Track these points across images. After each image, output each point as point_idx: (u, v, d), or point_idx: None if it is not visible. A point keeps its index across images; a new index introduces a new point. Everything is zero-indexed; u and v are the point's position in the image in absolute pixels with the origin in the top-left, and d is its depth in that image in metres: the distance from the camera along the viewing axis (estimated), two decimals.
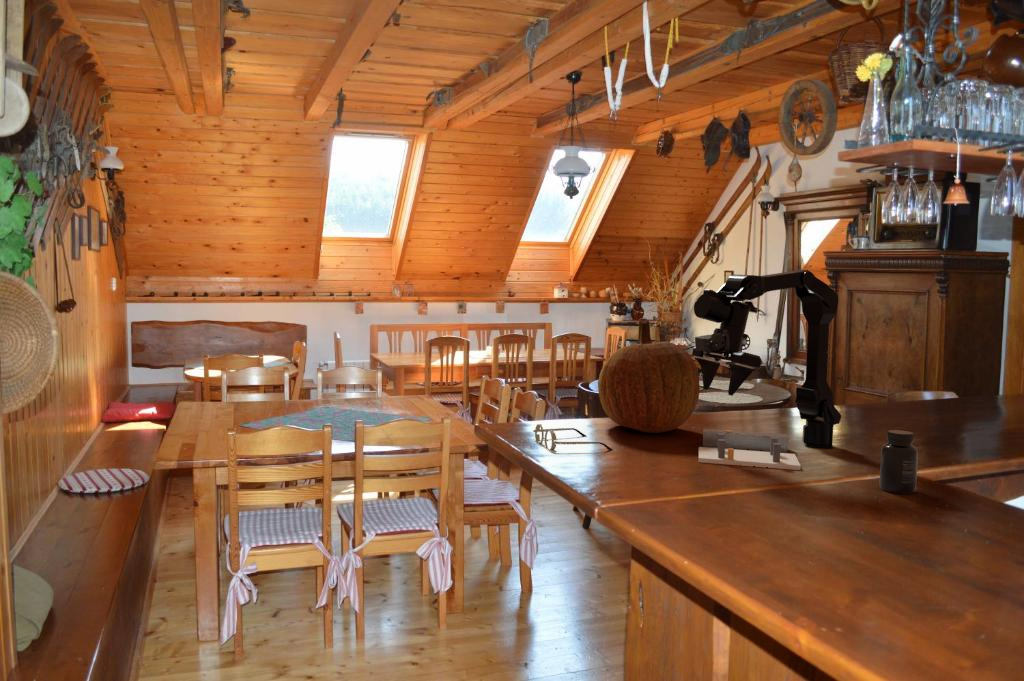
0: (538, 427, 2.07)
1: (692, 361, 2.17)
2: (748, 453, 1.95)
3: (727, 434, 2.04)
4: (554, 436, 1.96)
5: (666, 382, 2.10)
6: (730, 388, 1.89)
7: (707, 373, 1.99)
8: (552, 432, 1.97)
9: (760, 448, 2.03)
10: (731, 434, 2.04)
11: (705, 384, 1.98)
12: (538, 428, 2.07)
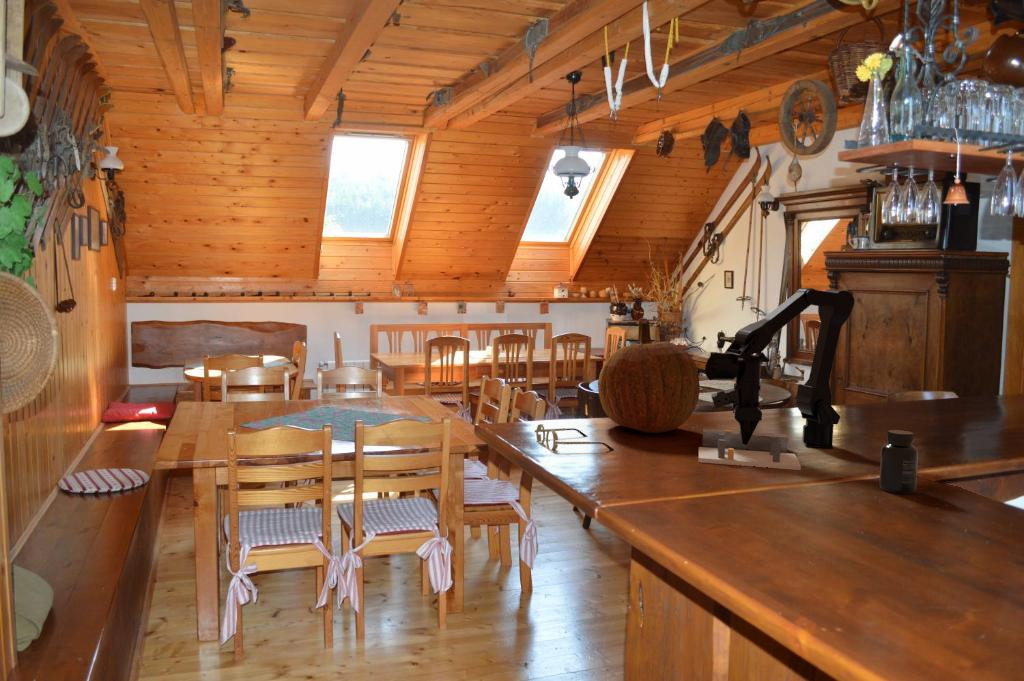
0: (539, 427, 2.07)
1: (692, 361, 2.17)
2: (748, 453, 1.95)
3: (727, 434, 2.04)
4: (556, 436, 1.96)
5: (666, 382, 2.10)
6: (742, 438, 2.03)
7: None
8: (554, 432, 1.97)
9: (760, 448, 2.03)
10: (731, 434, 2.04)
11: None
12: (539, 428, 2.07)
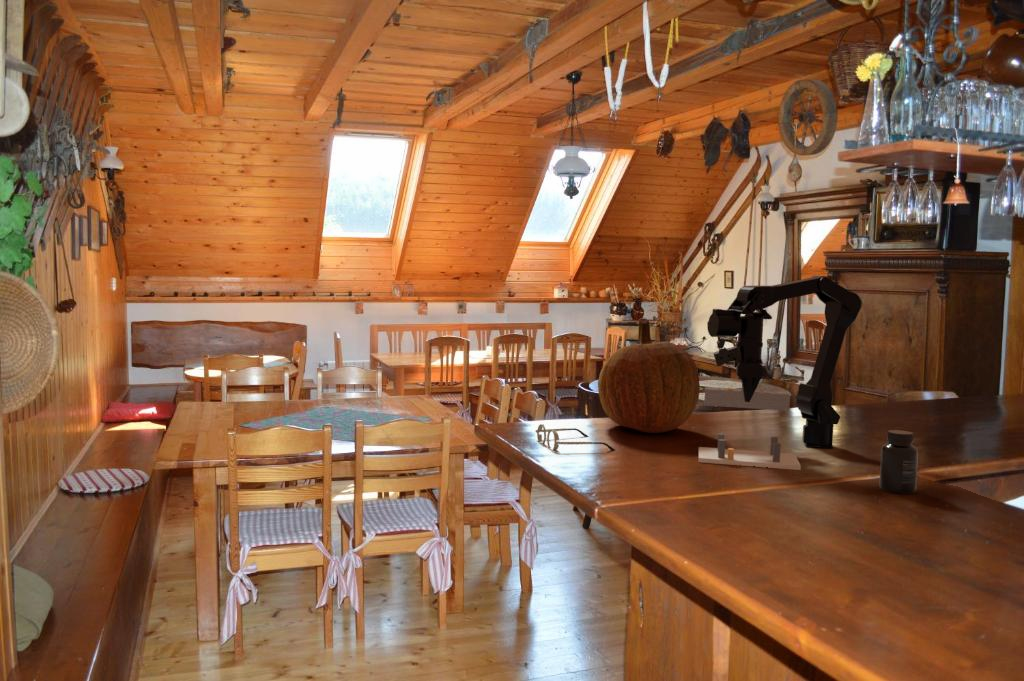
0: (540, 427, 2.06)
1: (692, 361, 2.17)
2: (748, 453, 1.95)
3: (729, 391, 2.03)
4: (557, 436, 1.96)
5: (666, 382, 2.10)
6: (744, 395, 2.02)
7: None
8: (555, 432, 1.97)
9: (762, 405, 2.02)
10: (733, 391, 2.03)
11: None
12: (540, 428, 2.07)
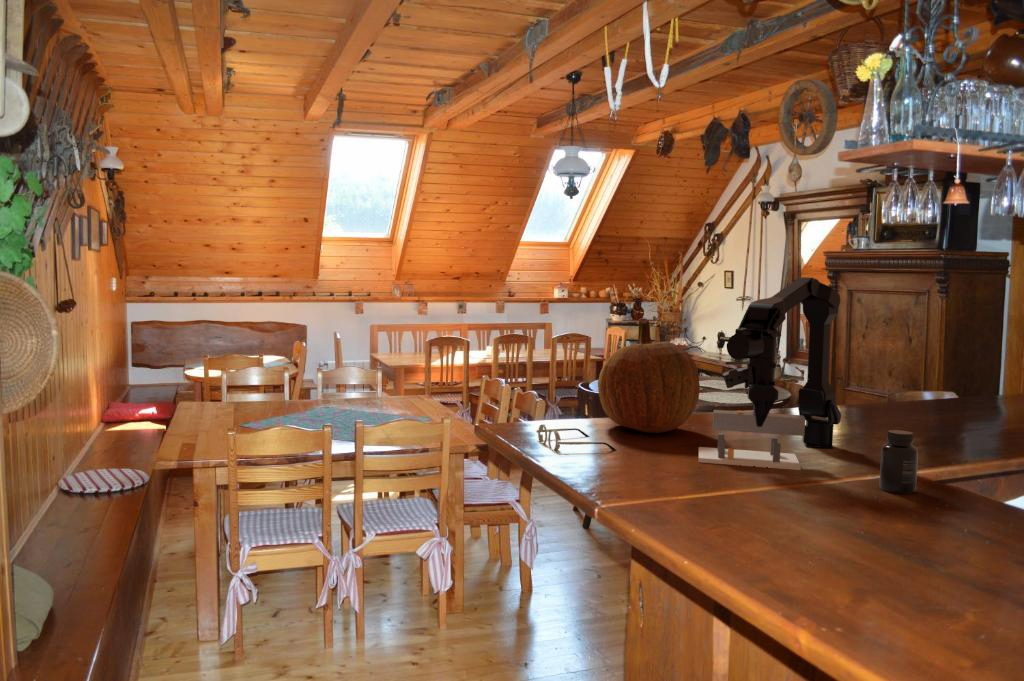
0: (541, 427, 2.06)
1: (692, 361, 2.17)
2: (748, 453, 1.95)
3: (739, 415, 1.90)
4: (558, 436, 1.96)
5: (666, 382, 2.10)
6: (756, 420, 1.88)
7: None
8: (556, 432, 1.97)
9: (775, 430, 1.88)
10: (743, 415, 1.90)
11: None
12: (541, 428, 2.07)
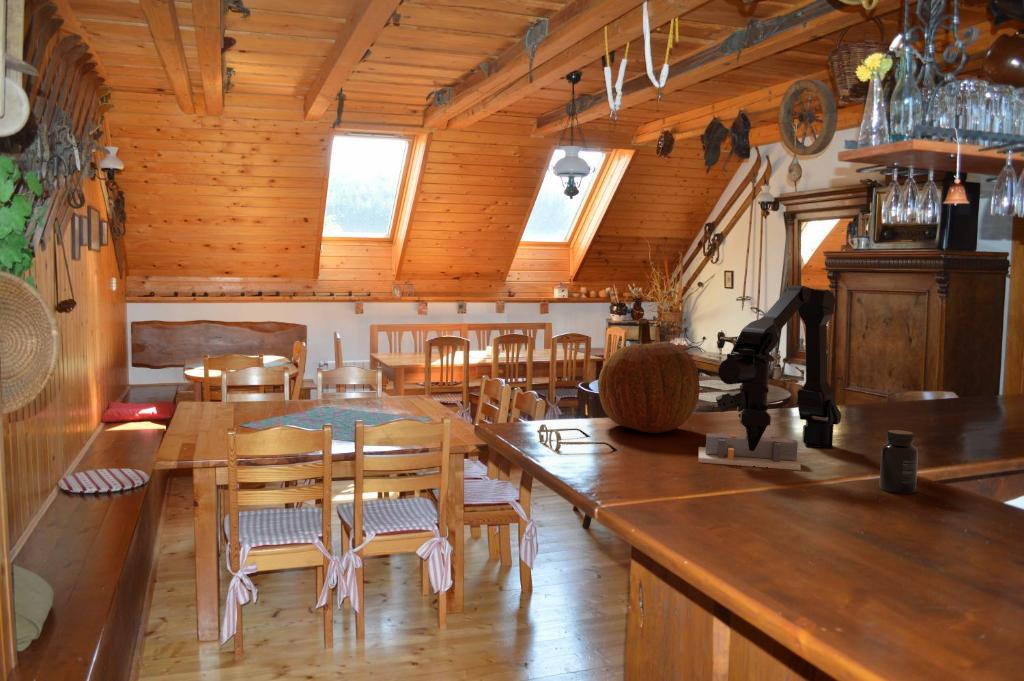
0: (542, 427, 2.06)
1: (692, 361, 2.17)
2: None
3: (732, 439, 1.90)
4: (559, 436, 1.96)
5: (666, 382, 2.10)
6: None
7: None
8: (557, 432, 1.97)
9: (767, 454, 1.89)
10: (736, 439, 1.90)
11: None
12: (542, 428, 2.06)
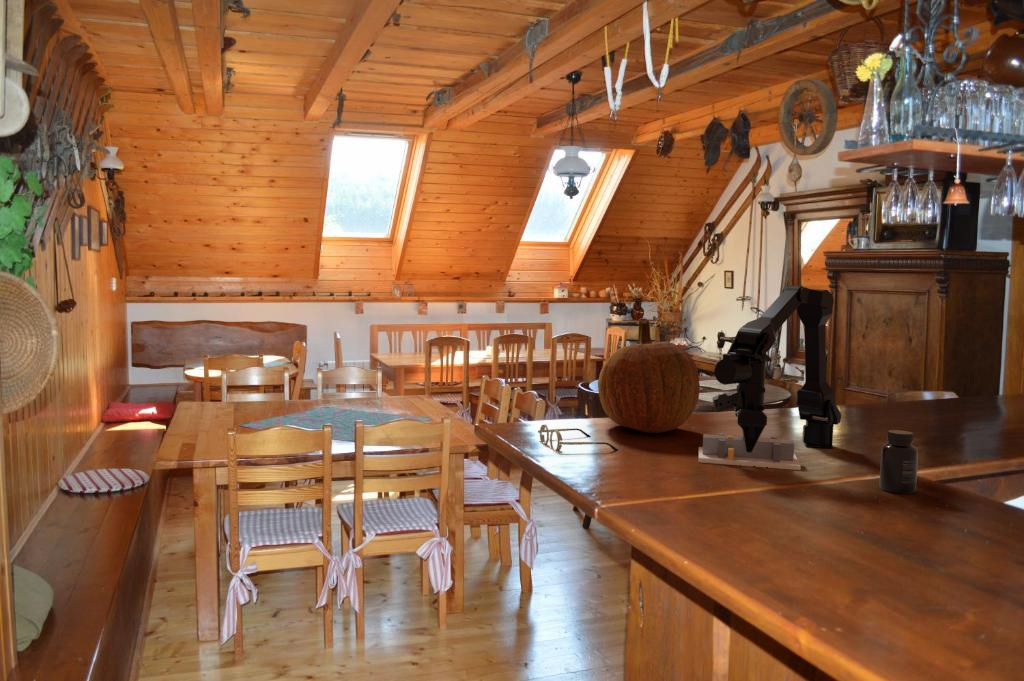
0: (543, 427, 2.06)
1: (692, 361, 2.17)
2: None
3: (729, 440, 1.91)
4: (560, 436, 1.96)
5: (666, 382, 2.10)
6: (746, 445, 1.88)
7: None
8: (558, 432, 1.97)
9: (764, 455, 1.89)
10: (733, 440, 1.91)
11: None
12: (543, 428, 2.06)
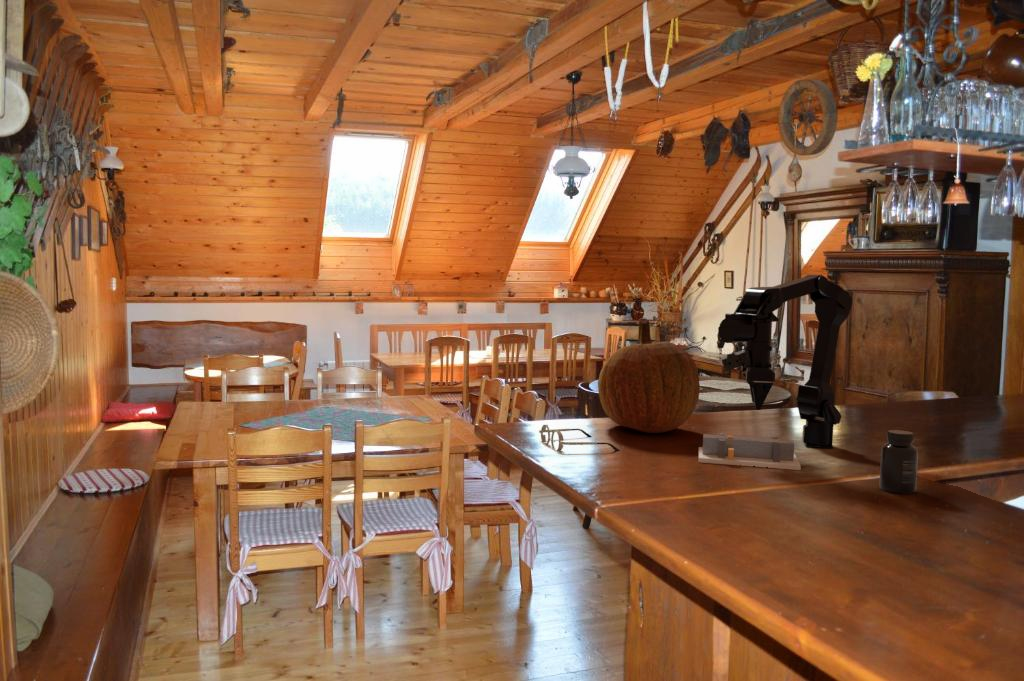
0: (544, 428, 2.06)
1: (692, 361, 2.17)
2: None
3: (729, 440, 1.91)
4: (561, 437, 1.96)
5: (666, 382, 2.10)
6: (755, 403, 1.94)
7: None
8: (559, 433, 1.96)
9: (764, 455, 1.89)
10: (733, 440, 1.91)
11: (752, 397, 2.03)
12: (544, 429, 2.06)
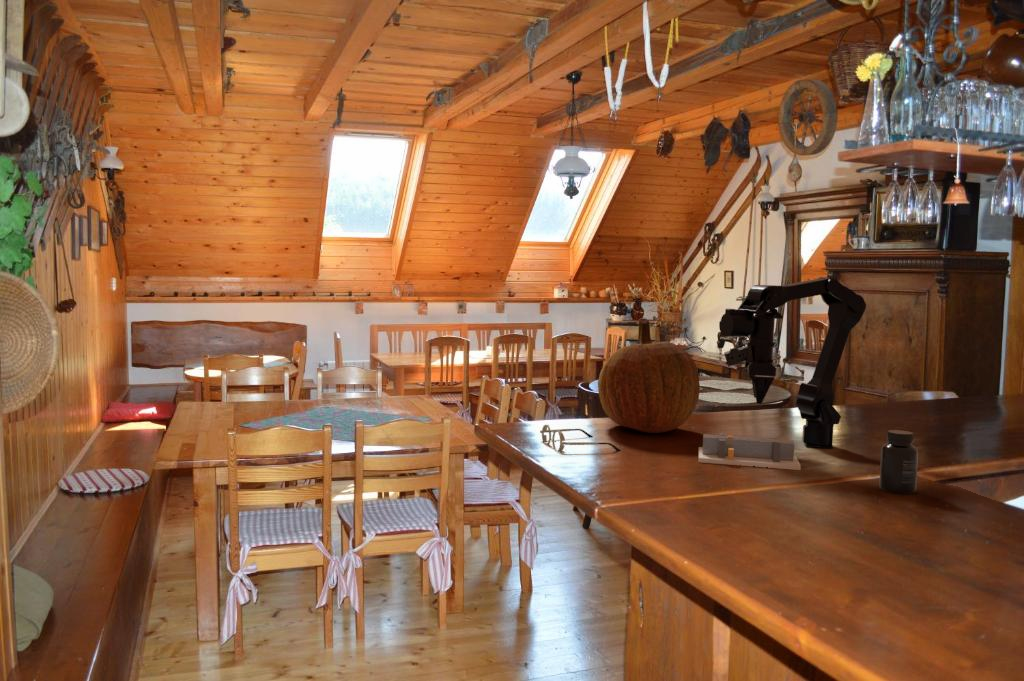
0: (545, 428, 2.06)
1: (692, 361, 2.17)
2: None
3: (729, 440, 1.91)
4: (562, 437, 1.96)
5: (666, 382, 2.10)
6: (756, 397, 1.98)
7: None
8: (560, 433, 1.96)
9: (764, 455, 1.89)
10: (733, 440, 1.91)
11: (754, 393, 2.07)
12: (545, 429, 2.06)
